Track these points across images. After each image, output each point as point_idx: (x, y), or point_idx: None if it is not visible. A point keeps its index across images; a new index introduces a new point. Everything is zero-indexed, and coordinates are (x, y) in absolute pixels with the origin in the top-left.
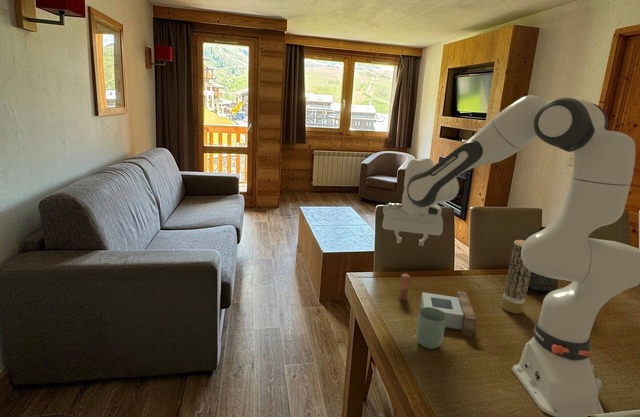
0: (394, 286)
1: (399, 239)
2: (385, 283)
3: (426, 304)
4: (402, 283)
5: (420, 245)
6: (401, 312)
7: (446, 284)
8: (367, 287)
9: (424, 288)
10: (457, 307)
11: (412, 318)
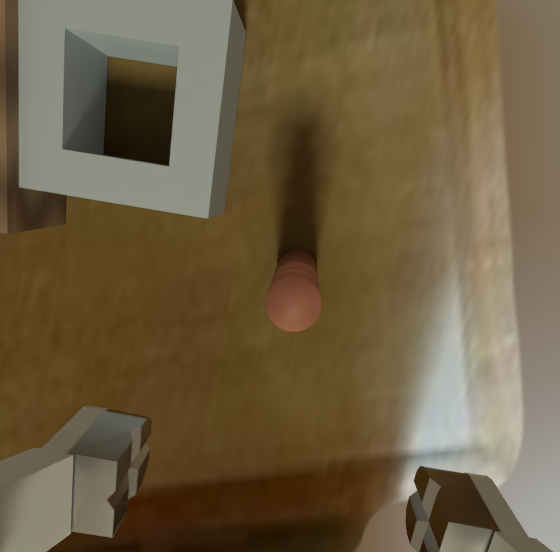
0: (317, 379)
1: (476, 511)
2: (356, 403)
3: (209, 67)
4: (313, 274)
5: (128, 414)
6: (329, 126)
7: None
8: (455, 354)
9: (176, 376)
10: (38, 60)
11: (286, 75)
